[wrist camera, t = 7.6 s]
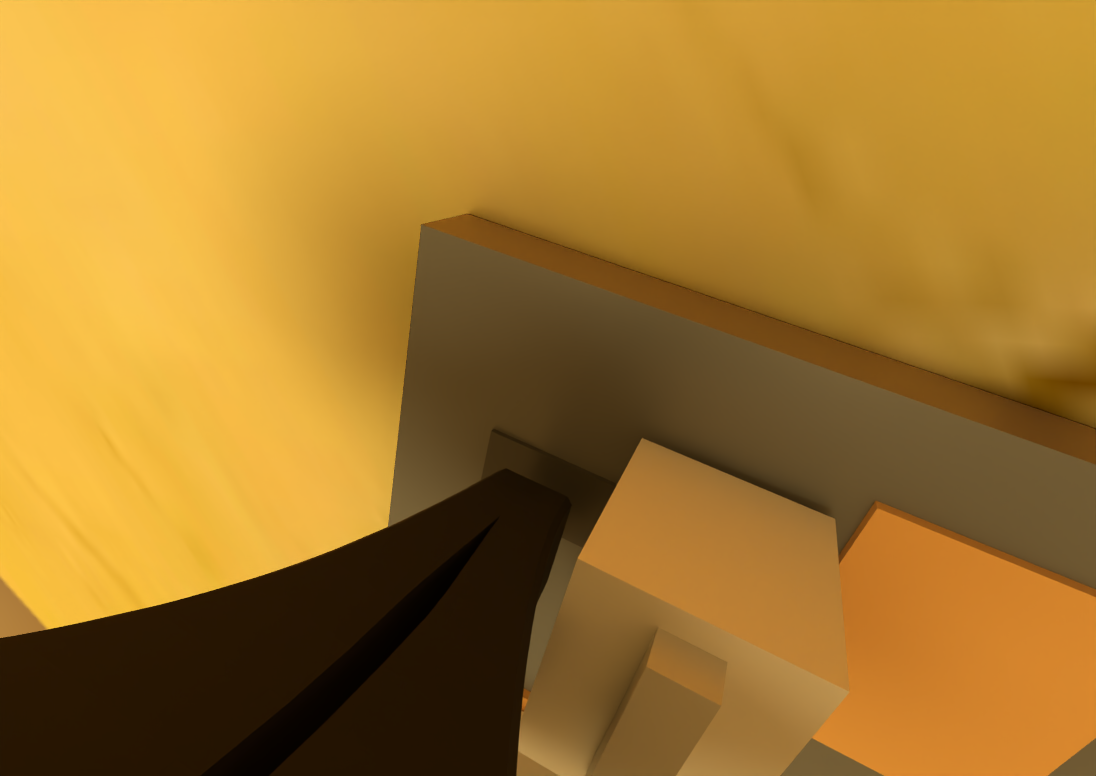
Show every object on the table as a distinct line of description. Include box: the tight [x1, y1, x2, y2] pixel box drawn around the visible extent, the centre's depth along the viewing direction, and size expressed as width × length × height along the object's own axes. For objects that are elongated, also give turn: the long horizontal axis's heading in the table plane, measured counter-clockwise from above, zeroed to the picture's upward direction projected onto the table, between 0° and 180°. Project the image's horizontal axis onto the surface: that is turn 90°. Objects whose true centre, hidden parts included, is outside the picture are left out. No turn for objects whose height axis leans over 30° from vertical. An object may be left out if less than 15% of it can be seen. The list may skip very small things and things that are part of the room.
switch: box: [518, 438, 850, 776], centre depth 8 cm, size 3×4×4 cm
